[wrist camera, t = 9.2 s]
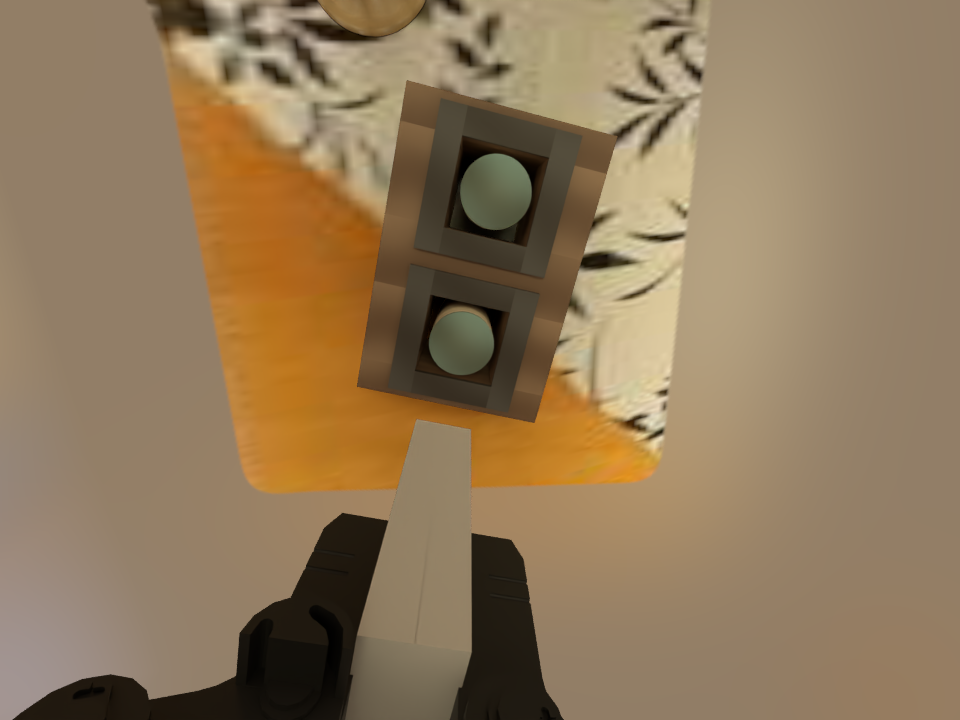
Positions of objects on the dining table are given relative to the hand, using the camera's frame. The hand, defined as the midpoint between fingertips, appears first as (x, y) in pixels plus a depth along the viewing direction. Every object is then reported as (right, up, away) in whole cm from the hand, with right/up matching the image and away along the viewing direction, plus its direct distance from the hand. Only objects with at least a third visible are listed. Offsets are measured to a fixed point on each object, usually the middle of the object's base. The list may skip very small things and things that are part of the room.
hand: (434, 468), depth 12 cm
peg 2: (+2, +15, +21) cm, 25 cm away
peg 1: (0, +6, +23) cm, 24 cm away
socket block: (+1, +11, +22) cm, 25 cm away
